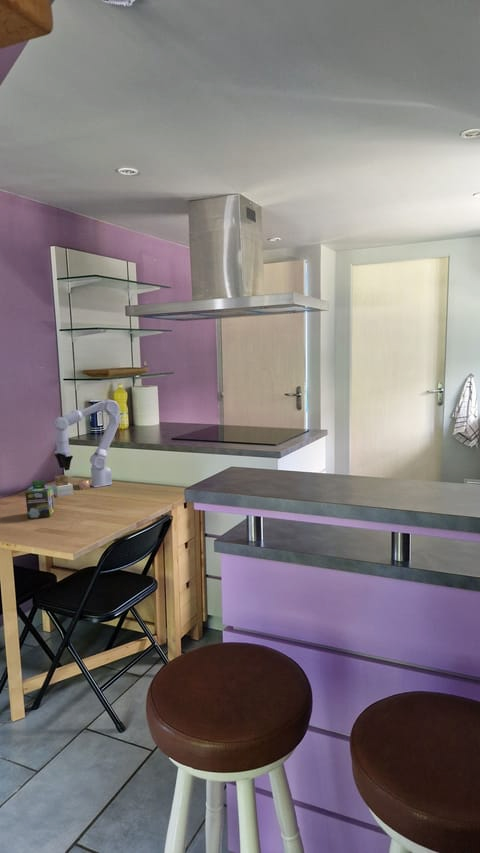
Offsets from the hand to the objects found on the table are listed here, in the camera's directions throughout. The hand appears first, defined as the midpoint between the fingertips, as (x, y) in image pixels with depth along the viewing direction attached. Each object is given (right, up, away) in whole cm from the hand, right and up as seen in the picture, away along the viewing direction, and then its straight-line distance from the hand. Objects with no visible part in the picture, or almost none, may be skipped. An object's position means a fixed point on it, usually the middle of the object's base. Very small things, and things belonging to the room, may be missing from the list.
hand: (64, 468), depth 266 cm
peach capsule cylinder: (+9, -10, +3) cm, 14 cm away
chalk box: (+4, -16, -41) cm, 44 cm away
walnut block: (+1, -7, -9) cm, 11 cm away
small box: (+2, -12, -8) cm, 14 cm away
